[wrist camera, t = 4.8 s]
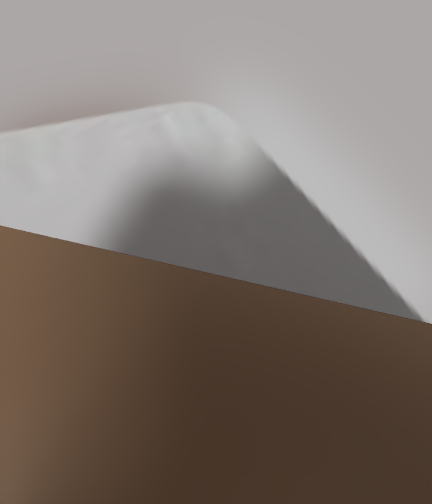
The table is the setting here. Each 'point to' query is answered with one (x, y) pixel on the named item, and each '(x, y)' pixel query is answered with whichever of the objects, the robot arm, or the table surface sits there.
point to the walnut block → (200, 387)
